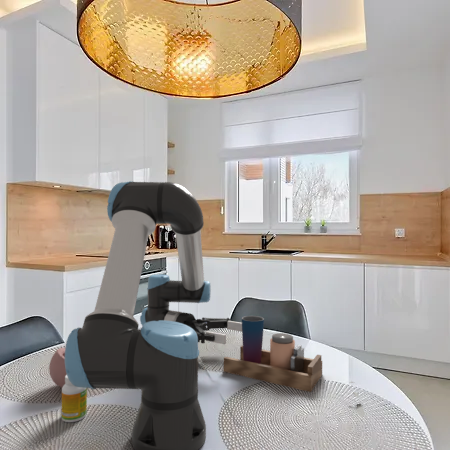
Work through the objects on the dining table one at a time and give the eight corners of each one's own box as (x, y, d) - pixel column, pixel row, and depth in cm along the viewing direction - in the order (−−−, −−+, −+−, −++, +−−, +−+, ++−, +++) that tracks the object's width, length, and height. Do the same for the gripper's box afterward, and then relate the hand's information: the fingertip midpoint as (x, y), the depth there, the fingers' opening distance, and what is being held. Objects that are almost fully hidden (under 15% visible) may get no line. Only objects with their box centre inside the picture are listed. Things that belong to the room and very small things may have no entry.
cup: (253, 374, 103) (254, 322, 103) (236, 368, 107) (236, 318, 108) (267, 368, 108) (268, 318, 108) (250, 362, 112) (251, 314, 113)
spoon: (359, 387, 98) (359, 382, 98) (375, 430, 78) (375, 422, 78) (344, 386, 99) (344, 380, 99) (355, 427, 79) (355, 420, 79)
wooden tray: (223, 374, 105) (223, 351, 105) (241, 360, 116) (242, 339, 116) (310, 395, 93) (311, 368, 93) (322, 377, 104) (322, 353, 104)
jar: (298, 378, 101) (299, 339, 100) (276, 381, 99) (276, 341, 99) (287, 369, 107) (288, 331, 107) (266, 371, 105) (266, 333, 105)
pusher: (290, 383, 97) (290, 351, 97) (300, 371, 105) (300, 342, 105) (294, 384, 96) (294, 352, 96) (303, 371, 105) (304, 342, 104)
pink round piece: (99, 391, 94) (99, 348, 94) (48, 401, 88) (49, 355, 88) (94, 374, 105) (94, 335, 105) (49, 382, 99) (49, 341, 99)
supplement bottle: (83, 422, 80) (84, 379, 80) (58, 424, 79) (58, 380, 79) (88, 409, 85) (89, 369, 85) (65, 411, 84) (65, 370, 84)
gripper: (200, 325, 132) (252, 334, 121) (156, 345, 110) (215, 358, 100) (200, 305, 132) (252, 312, 121) (156, 321, 110) (215, 331, 100)
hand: (236, 333), depth 110 cm, fingers open, 13 cm apart
